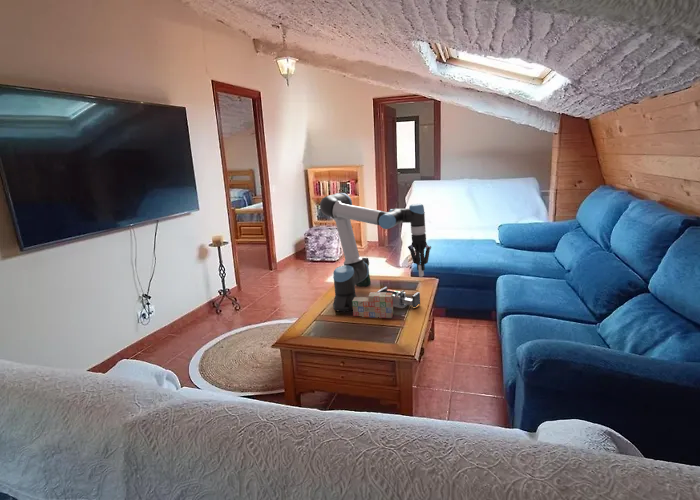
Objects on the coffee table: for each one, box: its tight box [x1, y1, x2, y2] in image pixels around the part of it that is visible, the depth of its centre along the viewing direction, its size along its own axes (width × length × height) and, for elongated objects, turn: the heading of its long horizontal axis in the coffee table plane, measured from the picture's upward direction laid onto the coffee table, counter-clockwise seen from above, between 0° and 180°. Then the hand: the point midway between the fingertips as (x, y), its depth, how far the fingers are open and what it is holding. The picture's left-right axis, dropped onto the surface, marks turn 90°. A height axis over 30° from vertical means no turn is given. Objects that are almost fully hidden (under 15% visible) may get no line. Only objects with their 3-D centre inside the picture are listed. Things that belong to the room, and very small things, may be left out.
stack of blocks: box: [352, 291, 394, 319], centre depth 220 cm, size 21×6×12 cm, turn 76°
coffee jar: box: [355, 257, 372, 287], centre depth 269 cm, size 10×8×19 cm
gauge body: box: [376, 286, 408, 309], centre depth 235 cm, size 9×17×7 cm, turn 53°
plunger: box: [395, 289, 421, 308], centre depth 230 cm, size 9×15×8 cm, turn 53°
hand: (421, 275), depth 221 cm, fingers closed
